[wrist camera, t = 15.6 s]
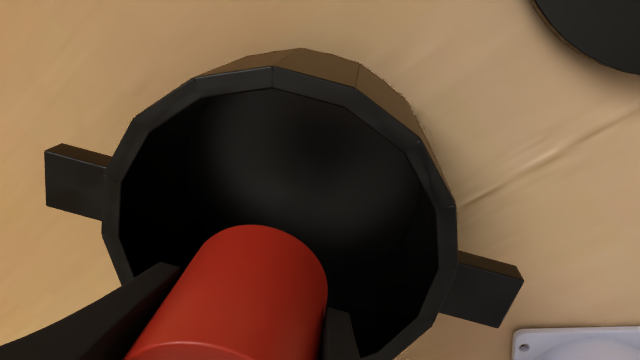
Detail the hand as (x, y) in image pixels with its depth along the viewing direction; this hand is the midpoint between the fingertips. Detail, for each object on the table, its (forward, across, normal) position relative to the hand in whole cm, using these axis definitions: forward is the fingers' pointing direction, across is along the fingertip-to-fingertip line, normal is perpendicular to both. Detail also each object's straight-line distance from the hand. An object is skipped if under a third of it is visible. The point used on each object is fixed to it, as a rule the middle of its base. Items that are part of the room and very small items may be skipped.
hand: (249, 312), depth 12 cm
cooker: (+9, 0, 0) cm, 9 cm away
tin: (+1, 0, 0) cm, 1 cm away
